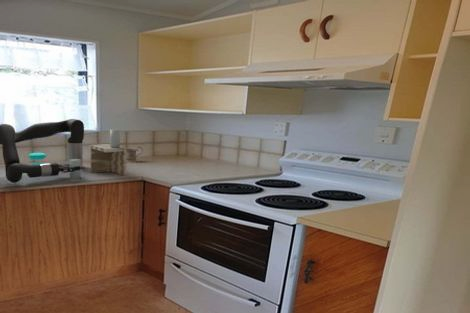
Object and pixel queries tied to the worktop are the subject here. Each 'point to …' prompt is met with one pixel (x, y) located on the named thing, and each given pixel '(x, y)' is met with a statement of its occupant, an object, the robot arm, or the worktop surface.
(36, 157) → the teal spool
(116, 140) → the pale grey cylinder
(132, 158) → the mug
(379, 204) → the worktop surface
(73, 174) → the grey-green short column
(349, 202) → the worktop surface
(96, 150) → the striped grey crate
